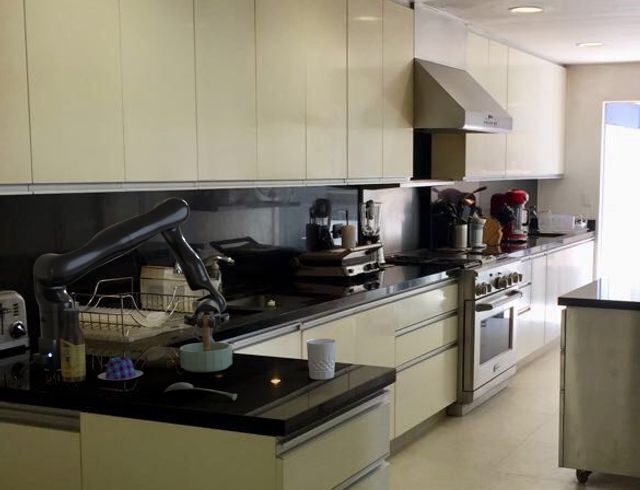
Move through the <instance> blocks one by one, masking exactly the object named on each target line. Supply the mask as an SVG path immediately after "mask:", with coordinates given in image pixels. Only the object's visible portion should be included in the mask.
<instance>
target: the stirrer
mask: <svg viewBox="0 0 640 490" xmlns="http://www.w3.org/2000/svg"><path fill="white" fill-rule="evenodd" d="M209 319H210V318H209V315H202V328H201V331H202V332H201V335H202V336H201V337H202V339H203V340H202V342H203V351H211V341H210V336H211V328H209Z"/></svg>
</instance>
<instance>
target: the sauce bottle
mask: <svg viewBox="0 0 640 490" xmlns="http://www.w3.org/2000/svg"><path fill="white" fill-rule="evenodd" d="M63 315H64V327H63V330H62V334H61V337H60V352H61V372H60V373H61V376H62V377H61V378H62V379H61V380H62V382H64V383H71V384H72V383H79V382H84V381H86V374H87V370H86V344H85V333H84V331H83V329H82V328H81V326H80V308H77V307H74V308H67V309H64V310H63Z"/></svg>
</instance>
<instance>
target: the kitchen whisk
mask: <svg viewBox="0 0 640 490" xmlns="http://www.w3.org/2000/svg"><path fill="white" fill-rule="evenodd" d="M194 327H195V328H194ZM194 327H192V326H191V328H192V329H193V331H192V336H193V337H194V338H196V339H197V340H198V341H199V343H202V342H203V338H201V340H202V341H201V340H200V338H199V337H198V336H195V335H194V332H196V333H197V334H199V335H200V336H201V337H202V328H199V327H197V325H195V326H194ZM197 330H198V331H197ZM199 331H200V332H201V334H200V333H199ZM210 341H211V342H216V341H215V339H213V331H210Z"/></svg>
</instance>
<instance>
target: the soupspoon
mask: <svg viewBox="0 0 640 490" xmlns="http://www.w3.org/2000/svg"><path fill="white" fill-rule="evenodd" d="M176 390H189V391H201V392H202V391H203V392H208V393H216V394H221V395H224V396H225V397H226V396H227V397H228V398H230V399H231V400H232V401H236V400H237V398H238V394H237V393H231V392H227V391H226V392H225V391H221V390H214V389H208V388H202V387H194V385H193V384H191V383H189V382H184V381H183V382H181V381H180V382H176V383H173V384H171V385H169V386H168V387H166V389H165V390H164V391H163V393H167V392H170V391H176Z"/></svg>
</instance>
